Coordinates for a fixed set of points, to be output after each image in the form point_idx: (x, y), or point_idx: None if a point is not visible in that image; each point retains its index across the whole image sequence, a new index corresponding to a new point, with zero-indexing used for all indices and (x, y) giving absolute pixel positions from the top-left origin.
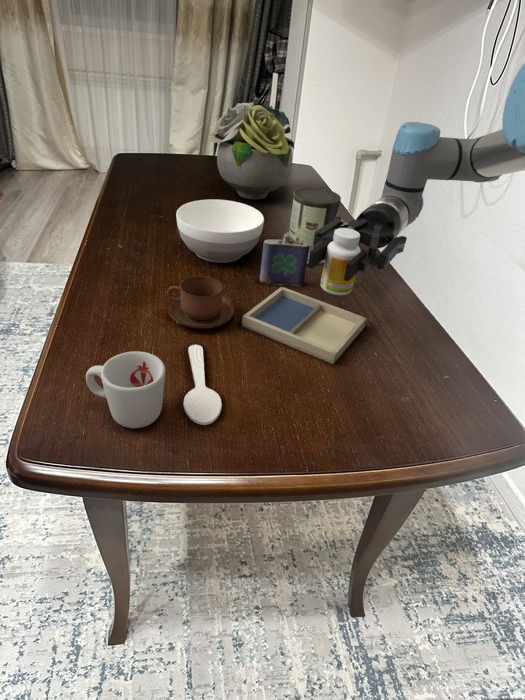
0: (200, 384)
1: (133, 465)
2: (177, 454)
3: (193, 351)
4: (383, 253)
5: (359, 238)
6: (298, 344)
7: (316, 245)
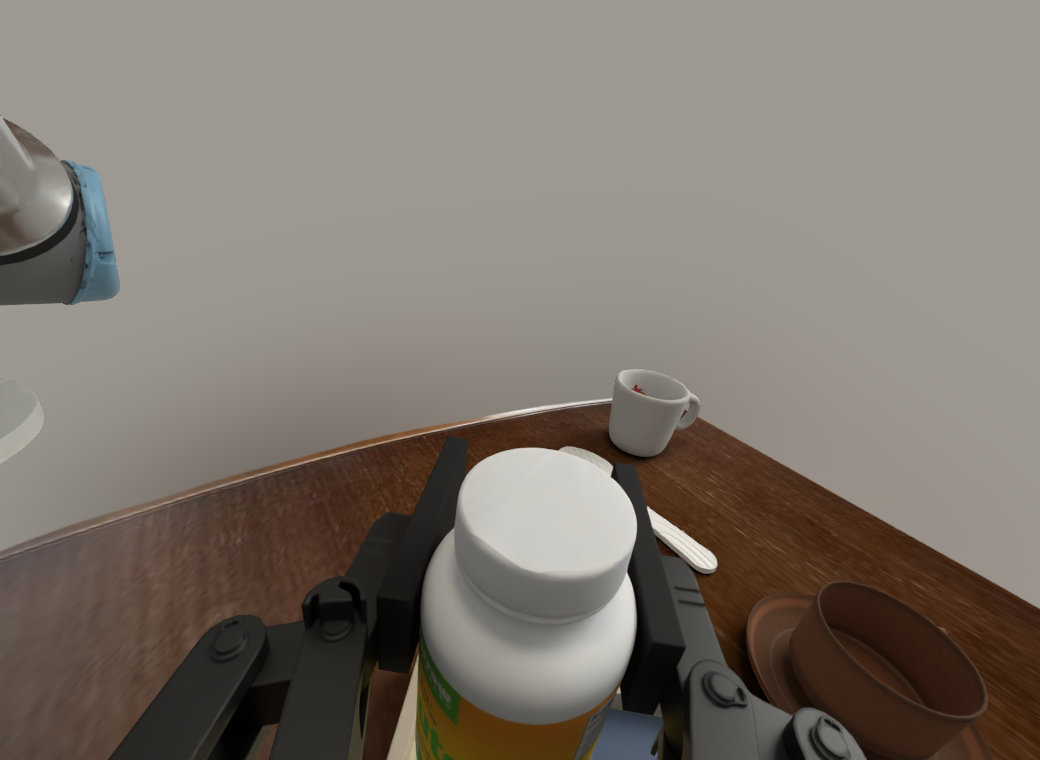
0: None
1: (583, 409)
2: (559, 423)
3: (697, 550)
4: (241, 634)
5: (456, 512)
6: None
7: (681, 574)
